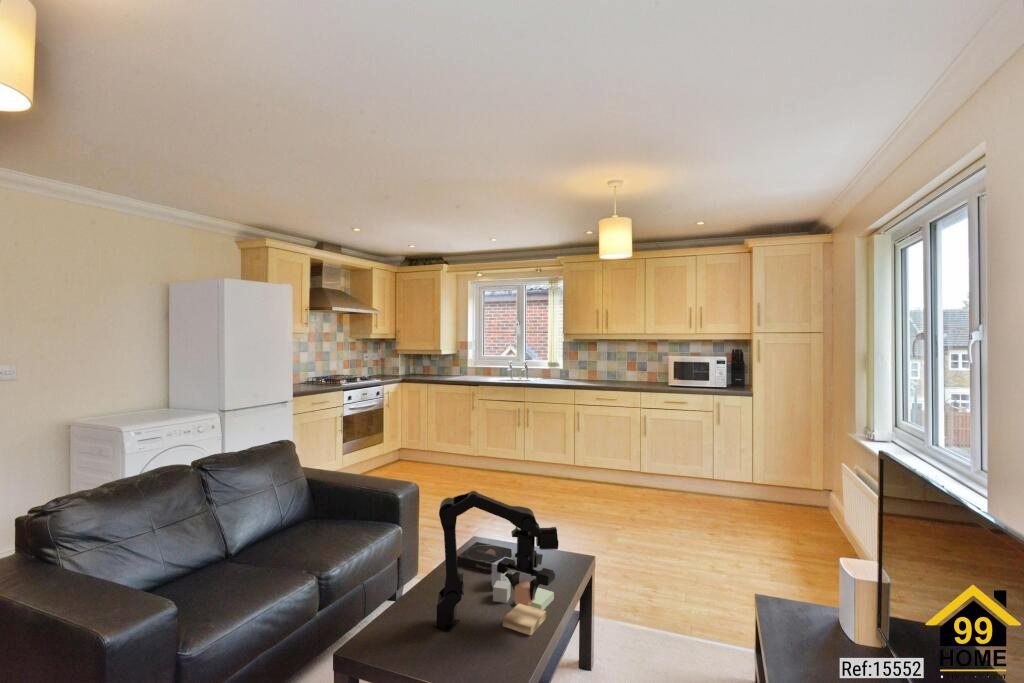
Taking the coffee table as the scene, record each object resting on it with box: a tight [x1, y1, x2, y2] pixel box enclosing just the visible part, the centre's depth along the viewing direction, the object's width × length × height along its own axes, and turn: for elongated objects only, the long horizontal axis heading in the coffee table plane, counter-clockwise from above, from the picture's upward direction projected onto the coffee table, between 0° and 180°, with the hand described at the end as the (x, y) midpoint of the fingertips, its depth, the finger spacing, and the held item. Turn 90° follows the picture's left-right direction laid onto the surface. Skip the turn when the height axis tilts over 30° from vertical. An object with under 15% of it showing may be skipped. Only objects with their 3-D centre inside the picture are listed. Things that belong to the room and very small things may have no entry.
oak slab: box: [502, 603, 547, 636], centre depth 163 cm, size 11×10×2 cm
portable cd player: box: [457, 541, 513, 574], centre depth 207 cm, size 16×17×4 cm
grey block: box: [492, 580, 512, 604], centre depth 177 cm, size 5×5×5 cm
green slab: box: [514, 587, 555, 610], centre depth 176 cm, size 10×10×2 cm
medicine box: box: [491, 557, 512, 587], centre depth 188 cm, size 8×4×9 cm, turn 143°
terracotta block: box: [513, 579, 535, 606], centre depth 163 cm, size 5×5×5 cm
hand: (524, 597), depth 163 cm, fingers closed on terracotta block, 5 cm apart
